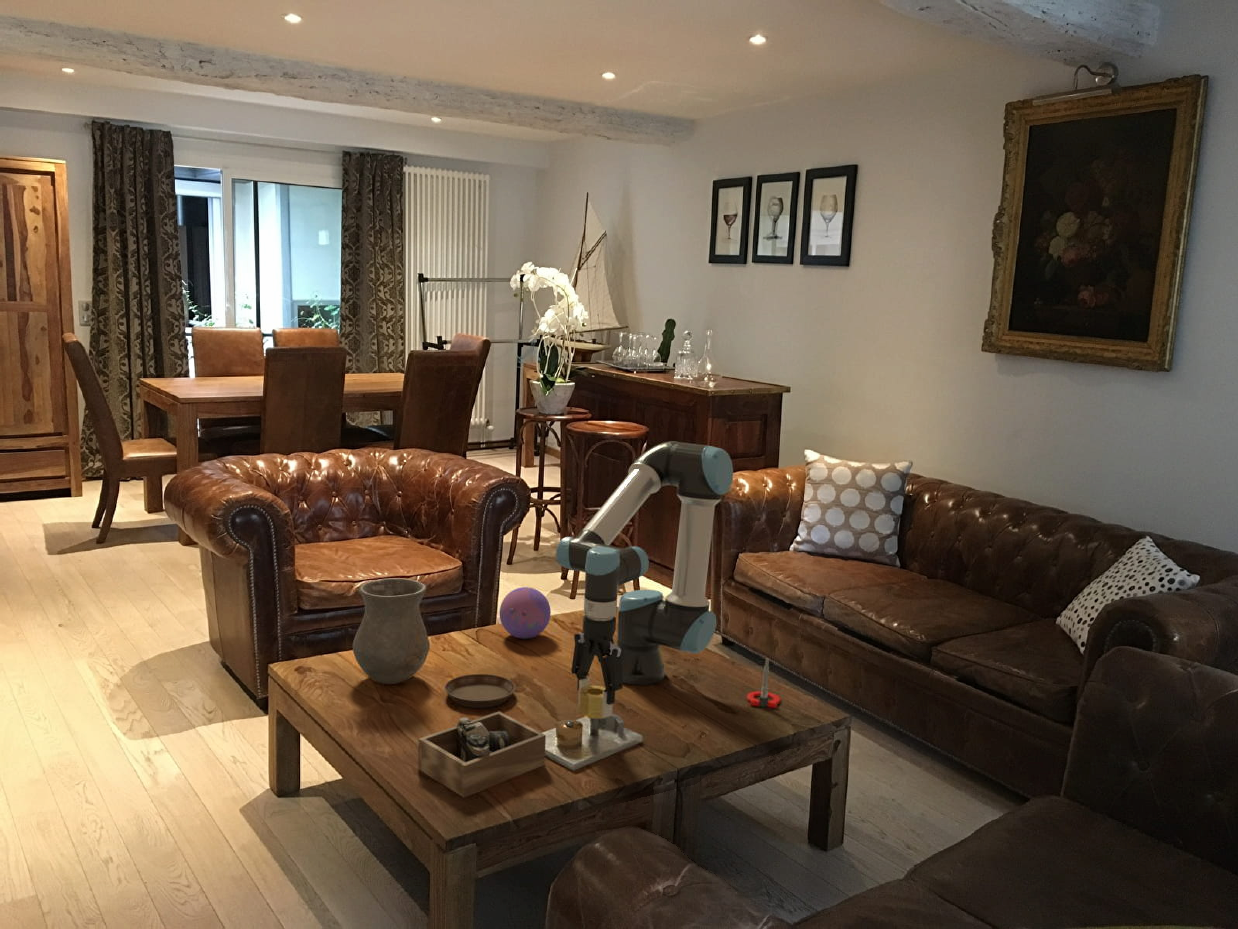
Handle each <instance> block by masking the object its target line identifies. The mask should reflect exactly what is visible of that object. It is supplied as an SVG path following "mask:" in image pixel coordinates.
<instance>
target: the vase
mask: <svg viewBox="0 0 1238 929" xmlns="http://www.w3.org/2000/svg"><path fill="white" fill-rule="evenodd" d="M426 590H427V584H424V583H422V582H420V581H419V580H416V579H409V578H401V577H399V578H398V577H397V578H396V577H393V578H382V579H376V580H372V581H368V582H365V583H363V584H362V585H360V587H359V593H360V595H361V597H362V598H363V604H364V615H363V617H362V621H361V623H360V625H359V627H358V630H357V632H356V634H355V636H354V639H353V642H352V651H353V655H354V657H355V658H354V659H355V661H356V662H357V664H358V666H359V667H360V669H361V670H362V671H363V672H364V674H366V675H367V676H368V677H369V678H370V679H371V680H373V681H374V682H376V683H380V684H385V685H395V684H401V683H403V682H405V681H406V682H407V681H408V680H409V679H410V678H411V677H413V676H414V675H416V673H417V672H419V671H420V669H421V668H422V667H423V665H424V664H425V662H426V660H427V658H428V655H429V651H430V648H431V644H430V640H429V637H428V633H427V630H426V627H425V625H424V621H423V618H422V614H421V611H420V603H421V602H422V599H423V597H424V595H425V593H426Z"/></svg>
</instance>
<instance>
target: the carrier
mask: <svg viewBox="0 0 1238 929" xmlns="http://www.w3.org/2000/svg"><path fill="white" fill-rule="evenodd" d="M542 733H543V734H544V735H546V743H545V758H549V759H550V760H552V761H554V762H556V763H558V764H560V765H562V766H563V767H565V768H567V769H569V770H571V771H576V770H579V769H581V768H583V767H585V766H588V765H590V764H593V763H595V762H598V761H600V760H602V759H605V758H607V757H609V756H611V755H614V754H616V753H617V754H618V753H619V752H621V751H624V750H626V749H628V748H631V747H633V746H635V745H637V744H640V743H642V742H643V735H642V734H641V733H640V734H639V733H637V732H635V731H634V730H631V729H628V728H627V727H625V722H624V720H623V719H622V717H621V716H620V715H618V714H616V713H614V712H612V715H611V716H609V717H606V718H601V719H597V718H587V717H584V716H583V717H580V718H578V719H561V720H558V721H557V722H556V723H555V727H554V728H551V729H549V730H546V731H543V732H542Z"/></svg>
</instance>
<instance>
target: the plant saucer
mask: <svg viewBox="0 0 1238 929" xmlns="http://www.w3.org/2000/svg"><path fill="white" fill-rule="evenodd" d="M444 691H445V692H446V695H448V697H449V698H450V699H451V700H452V701H453V702H455V703H456V704H458V705H460V706H463V707H468V708H475V709H482V708H483V709H484V708H492V707H496V706H500V705H502V704H504V703H505V702H506V701H508V700H509V699H510V698H511V696H512V695H513V693H514V692H515V691H516V685H515V683H514V682H513V681H512V680H510V679H508V678H506V677H503V676H500V675H497V674H496V675H495V674H488V673H487V674H486V673H477V674H476V673H475V674H474V673H473V674H471V673H470V674H466V675H461V676H457V677H454V678H452V679H450V680H449V681H446V683H445V685H444Z"/></svg>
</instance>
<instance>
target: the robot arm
mask: <svg viewBox="0 0 1238 929" xmlns="http://www.w3.org/2000/svg"><path fill="white" fill-rule="evenodd" d="M627 474H628V475H627V476H626V477H624V480H622V482H621V483H620V485H618V487H617V488H616V489H615V490H614V491H613V493H612V494H611V495H610V496H609V498H608V499H607V500H606V501H605V502H604V504H603V505H602V506H601V507H600V508H599V510H598V511H597V512H596V513H595V514H594V516H593V517H592V518H591V519H590V520H589V522H587V524H586V525H585V526H584V528H582V530H581V531H580V532H579V534H578V535H577V536H576V537H574V536H565V537H564V538H561V539H560V540H559V541H558V543H557V545H556V550H555V560H556V561H557V563H558V564H559V566H561V567H563V568H566V569H569V570H571V571H577V572H581V573H585V574H584V576H585V577H584V597H583V618H582V631H581V632H579V633H575V634H574V635H573V638H574V650H573V657H572V663H571V668H570V669H571V674H572V675H576V678H577V687H576V689H577V691H578V699H577V700H578V702H577V703H578V704H577V706H578V708H579V702H580V688H583V687H586V686H589V685H590V686H591V678H590V677H589V676H590V674H589V672H590V669H591V666H592V664H593V661H594V659H595V656H596V657H597V661H598V662H599V663H600V667H601V673H602V677H603V683H604V687H605V688H606V689H605V690H603V697H602V718H606V717H609V716H611V715H612V713H613V705H614V704H615V702H616V692H617V691H620V690H622V689H623V687H624V686H623V684H629V685H636V686H638V685H640V686H641V685H642V686H643V685H652V684H657V683H659V682H661V681H662V680H664V678H665V671H666V670H665V668H666V667H665V664H664V663H663V658H662V653H661V650H660V649H661V648H660V646H662V647H667V648H670V649H674V650H678V651H680V652H683V653H690V654H700V653H702V652H704V650H706V648H707V647H708V646H709V645H710V644H711V641H712V640H713V637H714V634H715V632H716V629H717V628H716V627H717V616H716V614H715V613H714V612H713V611H711V610H710V605H711V604H710V600H709V599H708V598H707V597H706V587H707V580H708V579H707V577H708V568H709V560H710V559H709V558H710V552H711V543H712V535H713V534H712V533H713V525H714V518H715V517H714V514H715V507H716V505H718V504H719V503H721V501H722V498H723V495H726V494H727V493H728V492H729V491H730V489H731V486H732V485H733V478H734V468H733V462H732V459H731V457H730V455H729V453H728V452H727V450H725V449H723V448H720V447H716V446H711V445H704V444H699V443H698V444H697V443H696V444H695V443H689V442H681V441H674V440H670V441H666V442H661V443H659V444H657V445H654V446H653V447H651V448H650V449H648V450H646V451H645V452H643V453H642V454H641V455H639V457H637V458H636V459H635V460H634V462H633V463H632V464H631V465H630V467H629V468H628V472H627ZM663 486H673V487H677V490H676V496H677V497H678V498H679V500H680V501H681V507H680V516H679V523H678V525H679V526H678V533H677V534H678V535H677V541H676V543H677V544H676V554H675V560H674V571H673V580H672V589H671V592H670V593H669V594H667V595H666V596H665V600H664V596H663V592H661V591H659V590H654V589H638V590H631V591H628V592H625V593H623V594H622V595H621V596H620V598H619V602H618V592H619V589H618V588H619V586H622V585H624V584H626V583H628V582H632V581H636V580H637V579H639V578H640V577H642V576H644V575H645V574H646V573H647V571H648V570H649V565H650V563H649V562H650V561H649V560H650V559H649V556H648V554H647V553H646V552H645V550H643V549H642V547H639V546H634V545H633V546H626V547H625V548H622V547H617V546H612V545H611V543H612V542H613V541H614V540H615V539H616V538H617V536H618V535H619V534H620V533H621V532H622V531H623V529H624V527H625V526H626V525H627V523H629V522H630V520H631V519H632V517H633V516H634V515H635V514H636V513H637V511H639V509H640V507H642V505H643V504H644V503H645V502H646V500H647V499H648V498H649V497H650V495H652V494H655V493H657V492H659V490H660V489H661V488H662V487H663ZM618 603H619V604H618ZM617 612H618V613H617ZM617 614H618V616H617ZM616 616H617V617H616ZM616 628H617V633H616ZM615 633H616V634H617V636H616V638H617V639H616V645H615V642H614V635H615Z"/></svg>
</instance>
